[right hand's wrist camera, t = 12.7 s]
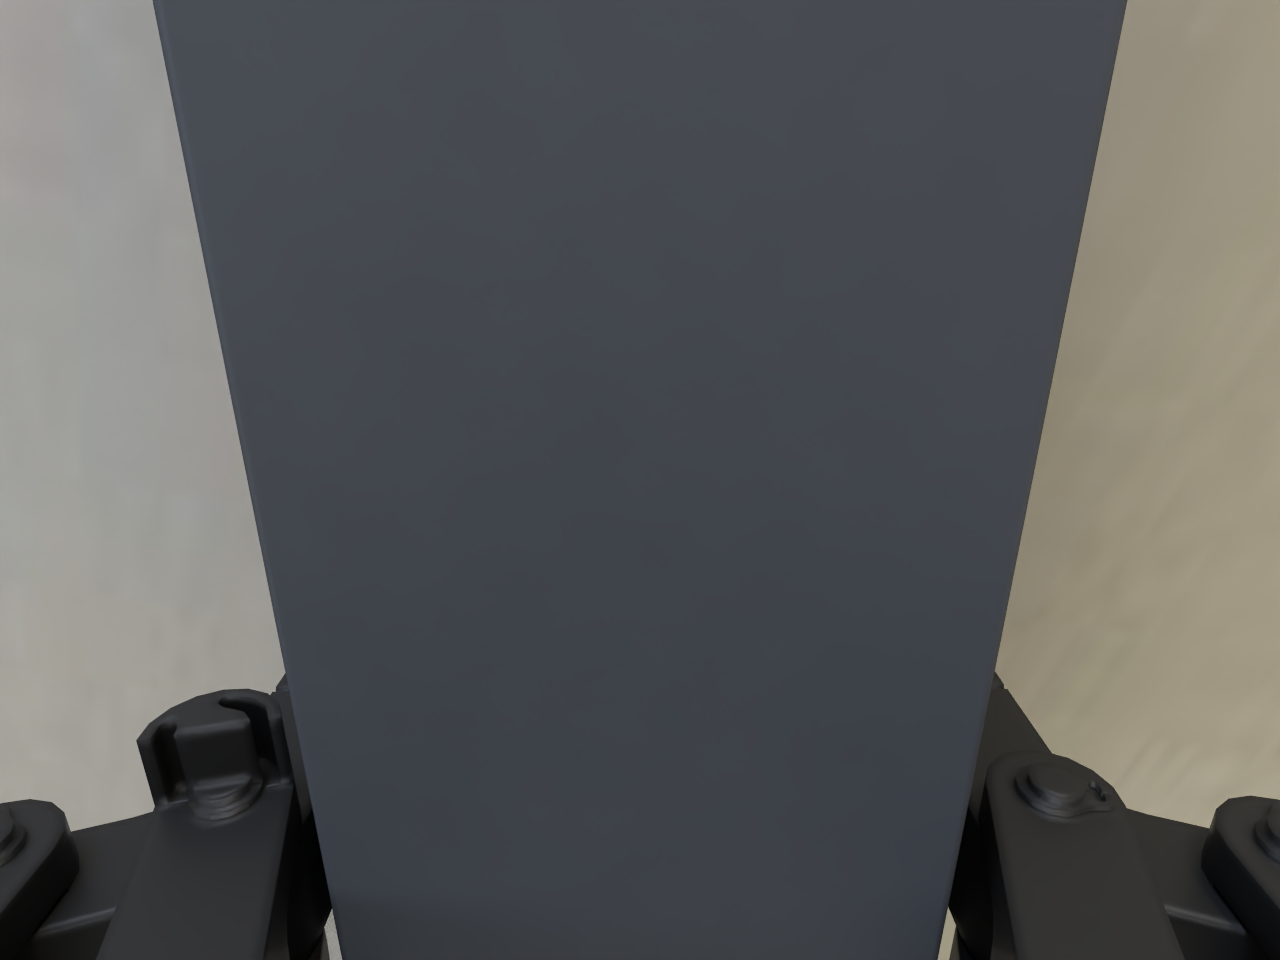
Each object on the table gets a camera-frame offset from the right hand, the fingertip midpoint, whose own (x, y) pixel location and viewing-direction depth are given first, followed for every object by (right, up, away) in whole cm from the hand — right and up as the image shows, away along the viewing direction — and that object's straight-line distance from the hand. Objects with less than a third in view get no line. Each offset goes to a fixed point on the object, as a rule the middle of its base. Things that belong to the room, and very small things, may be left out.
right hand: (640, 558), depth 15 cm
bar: (0, +9, -3) cm, 10 cm away
